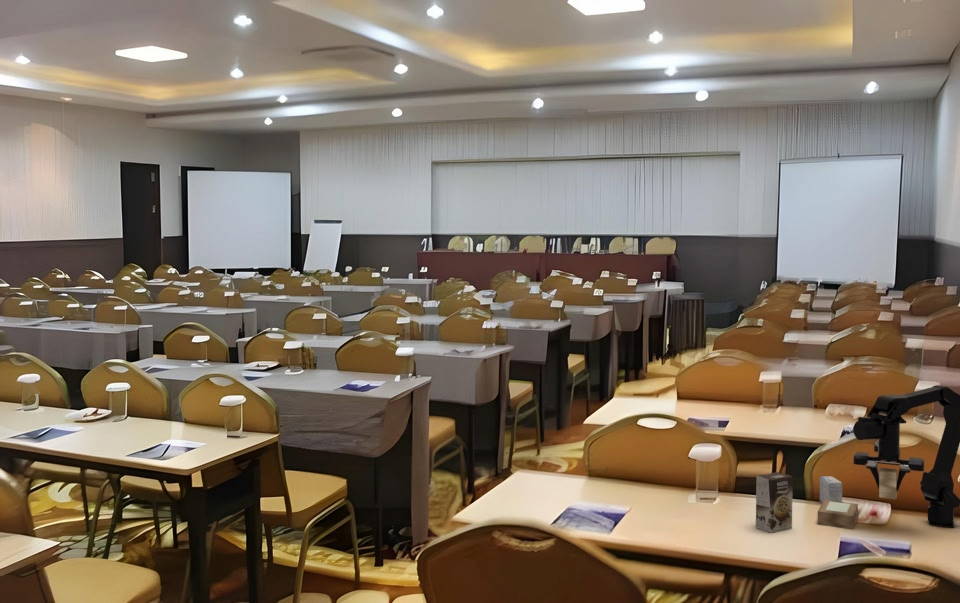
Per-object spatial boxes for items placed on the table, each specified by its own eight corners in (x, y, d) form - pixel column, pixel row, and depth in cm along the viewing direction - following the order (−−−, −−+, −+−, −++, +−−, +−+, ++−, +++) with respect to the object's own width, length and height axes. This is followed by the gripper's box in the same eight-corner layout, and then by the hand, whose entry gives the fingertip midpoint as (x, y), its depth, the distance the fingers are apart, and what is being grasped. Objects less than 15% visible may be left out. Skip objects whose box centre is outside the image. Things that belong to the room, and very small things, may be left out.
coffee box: (771, 533, 242) (771, 479, 242) (754, 527, 248) (755, 474, 247) (793, 528, 247) (793, 475, 246) (776, 522, 252) (776, 471, 252)
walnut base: (857, 516, 258) (857, 503, 257) (853, 529, 246) (853, 515, 245) (823, 511, 263) (823, 498, 262) (817, 524, 251) (817, 510, 250)
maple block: (896, 495, 246) (897, 469, 245) (895, 499, 242) (896, 472, 241) (880, 493, 248) (880, 467, 248) (879, 497, 244) (879, 471, 244)
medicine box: (842, 508, 266) (842, 482, 266) (828, 508, 266) (828, 482, 266) (832, 501, 274) (832, 476, 273) (819, 501, 274) (819, 476, 274)
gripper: (925, 436, 246) (924, 487, 247) (857, 430, 256) (856, 479, 256) (924, 443, 237) (923, 496, 238) (853, 437, 246) (853, 488, 247)
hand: (888, 489), depth 245 cm, fingers closed on maple block, 4 cm apart
